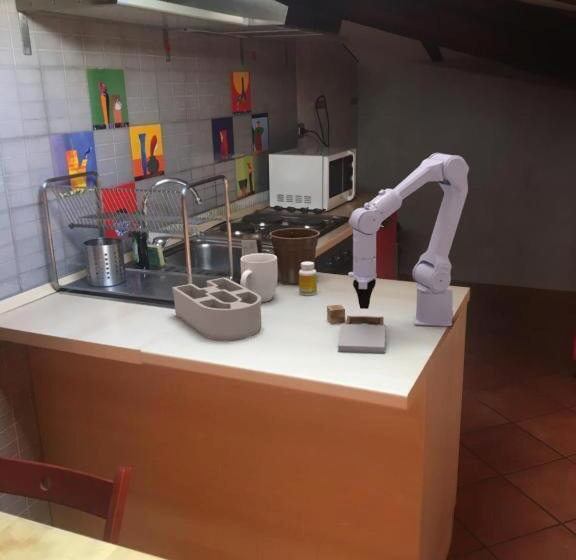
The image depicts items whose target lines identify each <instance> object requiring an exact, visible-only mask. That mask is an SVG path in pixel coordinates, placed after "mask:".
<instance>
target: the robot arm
mask: <svg viewBox="0 0 576 560" xmlns="http://www.w3.org/2000/svg"><path fill="white" fill-rule="evenodd" d="M469 171H470V166H468V164H467V162H466V161H465V159H464V158H463V157H462V156H460V155H456V154H455V155H452V154H446V153H441V152H434V153H432V154H431V155H430V156H429V157H428V158H425V159H424V160H422V161H421V163H420V165H419V166H418V167H417V168H415V169H414V170H413V171H412V172H411V173H410V174H409V175H408V176H407V177H405V179H403V180H402V181H401V182H400V183H399V184H397V186H395V187H394V188H386V189H381V190H380V191H378V195H376V197H373V199H372V200H371V201H369V202H365V203H364V204H363V207H359V208H356V209H355V210H353V212H352V213H351V215H350V218H349V219H348V224H349V227H351V229H352V271H350V272H348V274H347V275H348V277H350V278H351V277H352V278H353V279H354V280H353V282H352V286H353V288H354V290H355V292H356V296H357V299H358V300H357V301H358V305H359V308H360V310H361V309H362V310H363V309H366V310H367V309H369V308H370V304H371V303H370V302H371V297H372V292H373V291H374V289H375V287H376V283H377V282H376V281H377V279H376V278H377V232H378V231H379V230H380V228H381V225H382V222H384V221H385V220H386V219H387V218H388V217H390V216H391V215H392V214H394V213H395V212H396V211H397V210H399V209H400V208H401V207H402V203H403V200H404V199H405V198H406V197H408V196H409V195H411V194H412V193H414V192H416V191H417V190H418V189H420V188H421V187H422V186H423V185H425V184H426V183H430V182H437V183H438V184H439V186H440V188H441V189H442V191H443V193H444V194H443V197H442V200H441V204H440V207H439V209H438V210H439V211H438V214H437V218H436V221H435V224H434V227H433V231H432V234H431V236H430V237H431V238H430V240H429V245H428V248H427V249H426V251H425V252H424V253H422V254H421V255H420V256H419V260H418V262H417V263H416V264H415V266H414V267H413V269H412V279H413V280H414V281H415V282H416V310H415V311H416V312H415V313H414V314H413V315H414V325H415V326H431V327H432V326H434V327H451V326H453V316H454V310H453V305H454V304H453V303H454V302H453V301H454V299H453V297H454V294H453V293H454V292H453V289H448V288H449V286H450V284H451V280H452V277H451V270H452V264H451V262H450V259H449V255H450V251H451V248H452V244H453V240H454V238H455V235H456V231H457V229H458V226H459V225H458V224H459V221H460V219H461V215H462V211H463V209H464V206H465V202H466V199H467V196H468V191H469V185H468V183H469V182H468V174H469Z"/></svg>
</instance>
